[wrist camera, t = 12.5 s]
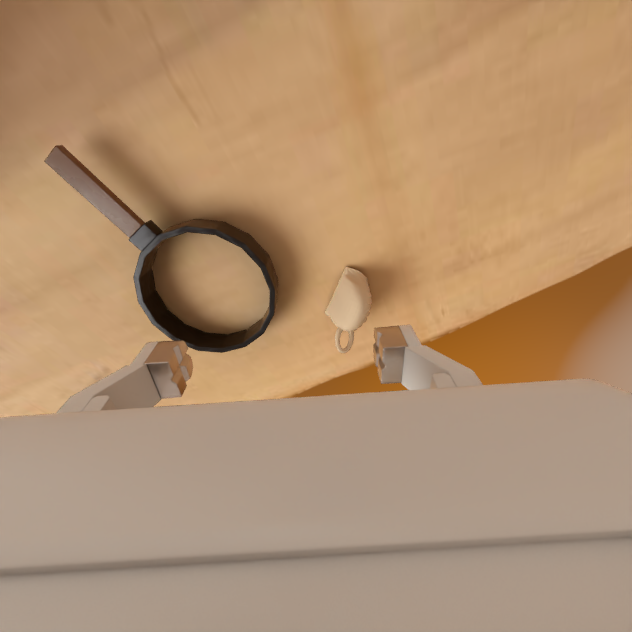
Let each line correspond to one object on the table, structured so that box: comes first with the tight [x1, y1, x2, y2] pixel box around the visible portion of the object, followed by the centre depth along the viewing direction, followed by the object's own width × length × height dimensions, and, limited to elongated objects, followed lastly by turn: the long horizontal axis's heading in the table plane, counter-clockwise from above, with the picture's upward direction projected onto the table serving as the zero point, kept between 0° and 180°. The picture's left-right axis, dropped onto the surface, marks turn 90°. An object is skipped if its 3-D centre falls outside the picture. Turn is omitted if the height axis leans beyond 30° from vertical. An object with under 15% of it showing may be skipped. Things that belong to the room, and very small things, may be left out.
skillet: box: [45, 145, 278, 353], centre depth 35 cm, size 26×15×3 cm, turn 39°
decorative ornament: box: [325, 266, 372, 353], centre depth 37 cm, size 4×8×5 cm, turn 157°
